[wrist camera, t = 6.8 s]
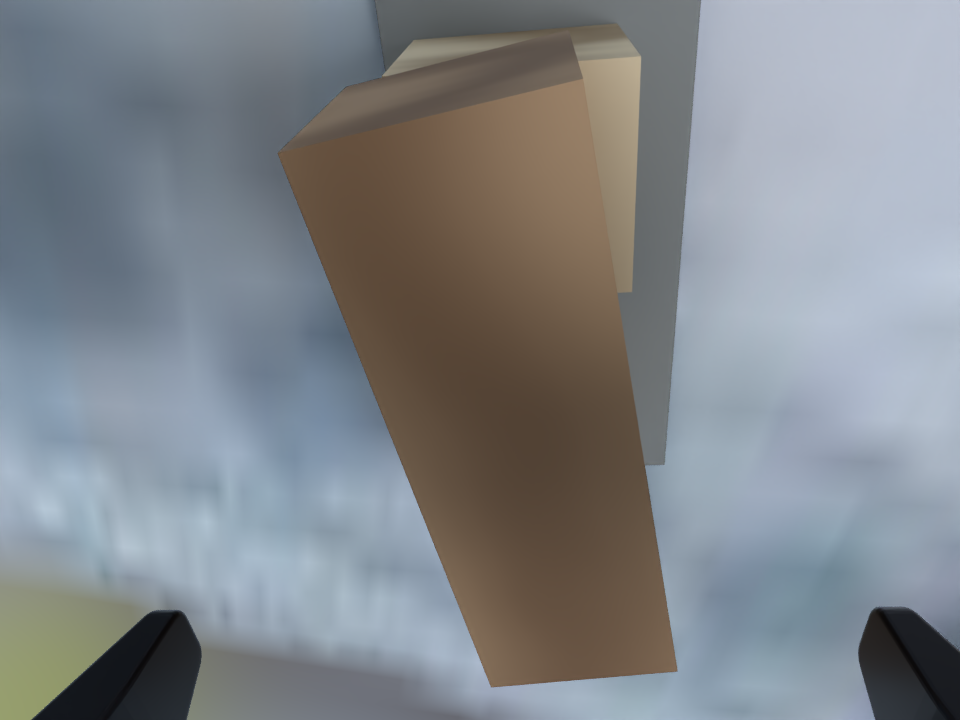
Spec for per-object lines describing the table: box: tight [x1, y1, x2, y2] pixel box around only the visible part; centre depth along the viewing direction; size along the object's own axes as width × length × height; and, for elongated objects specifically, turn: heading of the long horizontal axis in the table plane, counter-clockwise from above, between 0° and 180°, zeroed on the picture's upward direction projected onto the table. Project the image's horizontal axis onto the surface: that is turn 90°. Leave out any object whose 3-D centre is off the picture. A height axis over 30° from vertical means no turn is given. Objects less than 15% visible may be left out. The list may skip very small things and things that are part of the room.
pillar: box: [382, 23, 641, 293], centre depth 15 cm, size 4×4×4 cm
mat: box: [375, 0, 701, 465], centre depth 19 cm, size 7×14×1 cm, turn 5°
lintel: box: [278, 30, 677, 687], centre depth 13 cm, size 4×12×4 cm, turn 14°
